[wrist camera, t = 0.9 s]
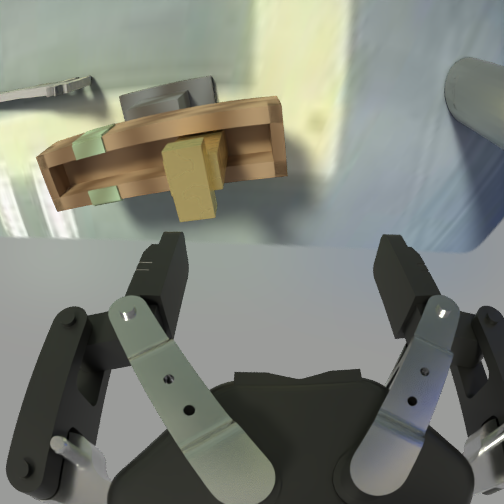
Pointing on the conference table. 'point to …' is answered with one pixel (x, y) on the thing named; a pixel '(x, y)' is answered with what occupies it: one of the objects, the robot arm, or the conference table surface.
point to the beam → (162, 144)
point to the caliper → (47, 89)
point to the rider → (196, 172)
